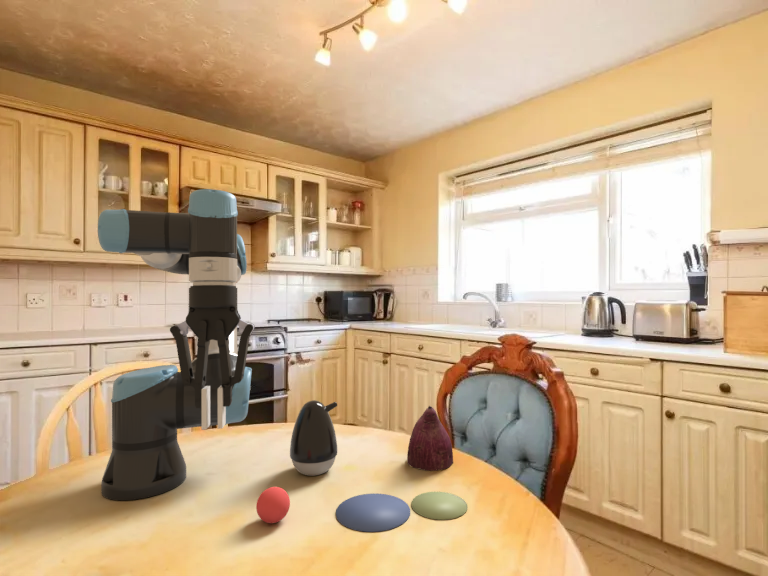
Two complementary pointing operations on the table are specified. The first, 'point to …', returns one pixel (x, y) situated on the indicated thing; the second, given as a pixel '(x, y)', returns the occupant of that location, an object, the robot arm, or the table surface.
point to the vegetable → (429, 444)
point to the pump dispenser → (313, 439)
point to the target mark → (373, 512)
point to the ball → (273, 504)
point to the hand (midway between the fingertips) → (213, 426)
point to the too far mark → (439, 505)
